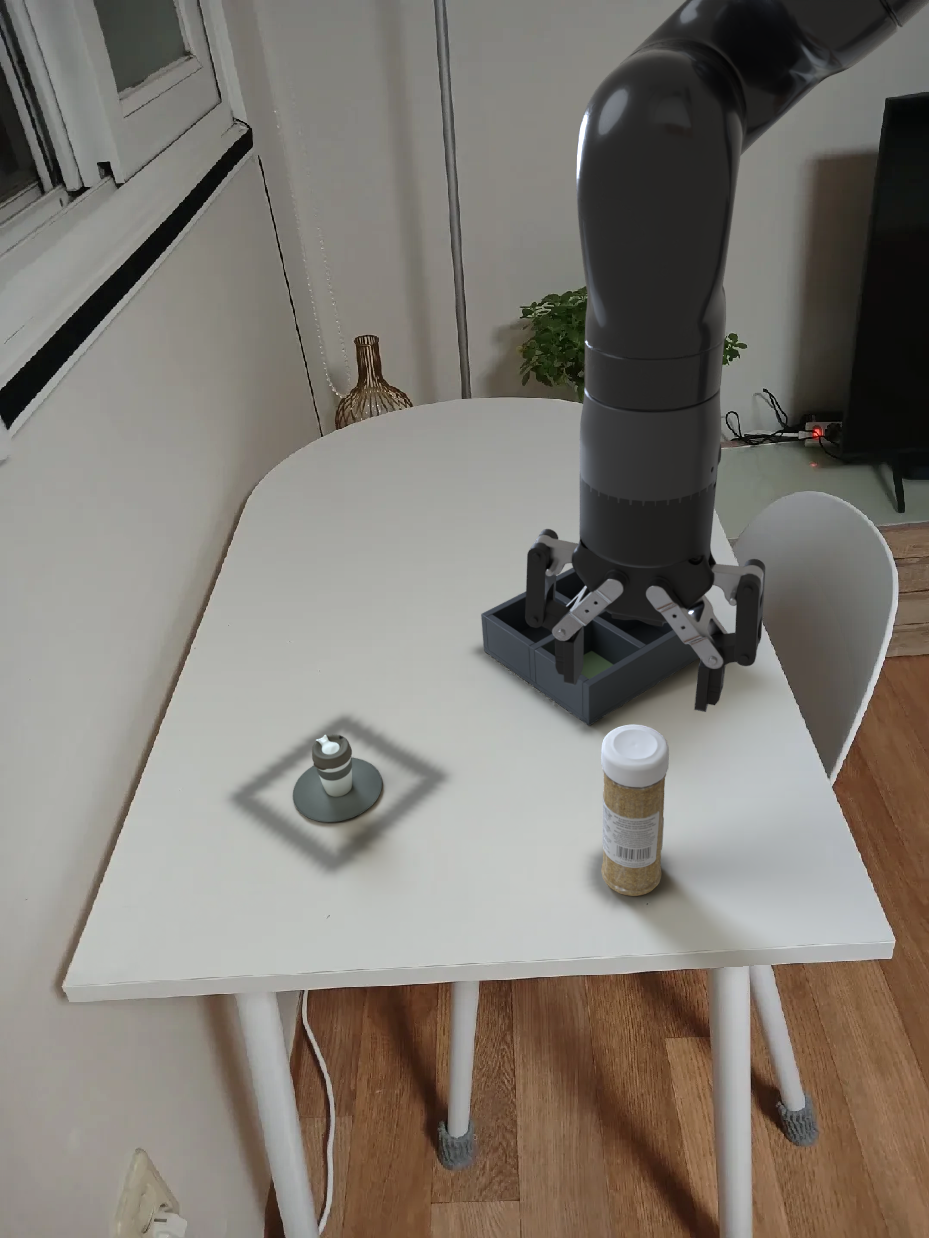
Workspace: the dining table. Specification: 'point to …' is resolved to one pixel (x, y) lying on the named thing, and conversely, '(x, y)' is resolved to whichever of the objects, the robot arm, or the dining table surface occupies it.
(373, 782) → the coffee cup
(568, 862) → the dining table surface
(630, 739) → the sprinkles bottle
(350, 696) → the dining table surface
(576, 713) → the divided storage tray
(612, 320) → the robot arm
